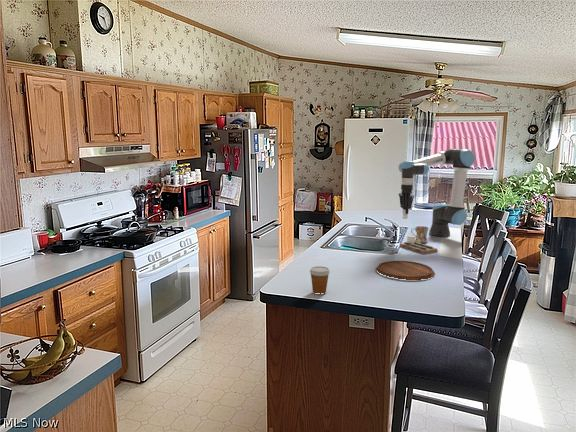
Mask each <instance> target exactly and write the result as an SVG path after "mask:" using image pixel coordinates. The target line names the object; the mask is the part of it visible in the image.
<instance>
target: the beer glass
mask: <svg viewBox="0 0 576 432" xmlns="http://www.w3.org/2000/svg"><path fill="white" fill-rule="evenodd" d="M330 272H331V271H330V268H329V267H327V266H321V265H318V266H316V265H315V266H313V267H312V266H311V268H310V270H309V273H310V277H311V279H310V280H311V286H312V287H311V288H312V293H313V292H314V293H320V294H321V293H325V292H326V293H327V289H328V281H329V280H328V279H329V274H330ZM314 293H313V294H314Z"/></svg>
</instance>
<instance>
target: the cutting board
mask: <svg viewBox="0 0 576 432" xmlns="http://www.w3.org/2000/svg"><path fill="white" fill-rule="evenodd" d="M376 270H377V271H378V272H379V273H381V274H383V275H386V276H389V277H394V278H398V279H406V280H421V279H428V278H431V277H433V276H434V275H435V276H436V274H435V271H434V269H433V268H432V267H430V266H429V265H426V264H423V263H421V262H420V263H419V262H415V261H410V260H389V261H384V262H381V263H379V264H378V265H377V266H376V267H375V271H376ZM435 276H434V277H435ZM434 277H433V278H434ZM431 279H432V278H431Z"/></svg>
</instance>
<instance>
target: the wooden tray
mask: <svg viewBox="0 0 576 432" xmlns="http://www.w3.org/2000/svg"><path fill="white" fill-rule="evenodd" d="M400 246H401V247H400ZM399 247H400V248H403V247H404V248H403V249H407V250H410V251H413V252H416V253H419V254H422V255H427V254H431V253H437V252H438V248H436V247H434V246H431V245H428V244H425V243H418V242H416V241H415V244H411V243H408V242H407V241H404V242H402V243H399Z"/></svg>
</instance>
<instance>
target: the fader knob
mask: <svg viewBox="0 0 576 432" xmlns="http://www.w3.org/2000/svg"><path fill="white" fill-rule="evenodd" d="M415 237H416V236H414V235H407V238H406V242H408V243H411V244H415V242H416V241H415V239H416V238H415Z"/></svg>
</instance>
